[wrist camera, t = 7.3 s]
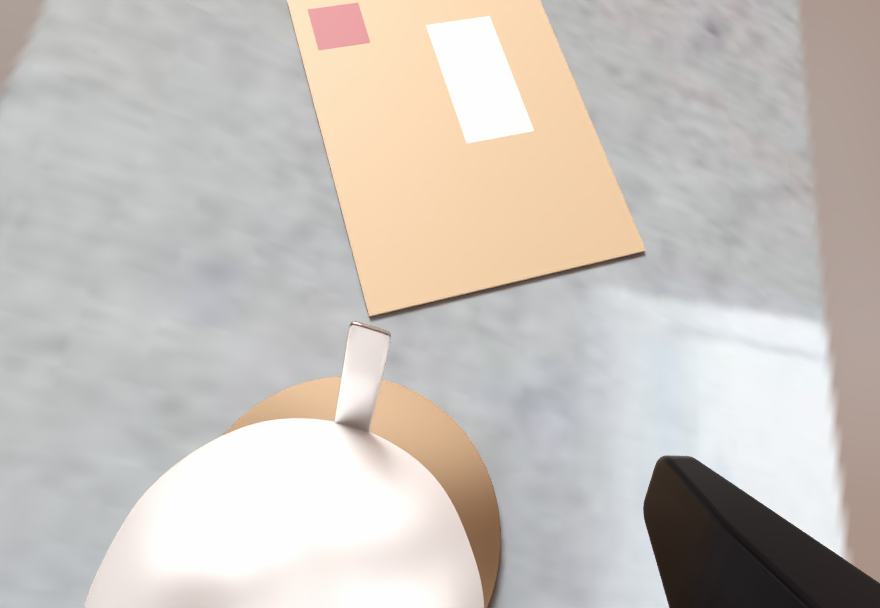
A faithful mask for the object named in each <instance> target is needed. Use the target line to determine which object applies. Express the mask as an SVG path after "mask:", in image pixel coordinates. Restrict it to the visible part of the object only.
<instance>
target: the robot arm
mask: <svg viewBox="0 0 880 608" xmlns="http://www.w3.org/2000/svg"><path fill="white" fill-rule="evenodd" d="M643 509H644V519H645V523H646V527H647V530H648V534H649V537H650V541H651V544H652V548H653V551H654V555H655V559H656V562H657V566H658V569H659V573H660V576H661V580H662V583H663V587H664V590H665V594H666V597H667V601H668V604H669V608H880V583H879V582H877V581H876V580H874V579H873V578H871V577H870V576H868V575H866V574H865V573H864V572H862V571H861V570H859V569H858V568H856V567H855V566H853V565H852V564H850V563H849V562H847V561H846V560H845V559H843V558H842V557H840V556H839V555H837V554H836V553H834V552H833V551H831V550H830V549H828V548H827V547H825V546H824V545H822V544H821V543H819V542H818V541H816V540H815V539H813V538H812V537H810V536H809V535H807V534H806V533H805V532H803V531H802V530H800V529H799V528H797V527H796V526H794V525H793V524H791V523H790V522H788V521H787V520H785V519H784V518H782V517H781V516H779V515H778V514H776V513H775V512H773V511H772V510H770V509H769V508H768V507H766V506H765V505H763V504H762V503H760V502H759V501H757V500H756V499H754V498H753V497H751V496H750V495H748V494H747V493H745V492H744V491H742V490H741V489H739V488H738V487H736V486H735V485H733V484H732V483H731V482H729V481H728V480H726V479H725V478H723V477H722V476H720V475H719V474H717V473H716V472H714V471H713V470H711V469H710V468H708V467H707V466H705V465H704V464H702V463H701V462H699V461H698V460H696V459H695V458H693V457H689V456H663V457H661V458H659V460H658V461H657V463H656V465H655V468H654V471H653V474H652V478H651V481H650V484H649V487H648V490H647V494H646V497H645V500H644V507H643Z"/></svg>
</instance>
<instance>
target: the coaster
mask: <svg viewBox="0 0 880 608" xmlns="http://www.w3.org/2000/svg"><path fill="white" fill-rule="evenodd" d="M340 381H341V376H340V377H328V378H322V379H317V380H312V381H308V382H305V383H302V384H299V385H295V386H292V387H290V388H288V389H285V390H283V391H281V392H279V393H277V394H275V395H272V396H271V397H269V398H268V399H266V400H264V401H263V402H261V403H260V404H258V405H256V406H255V407H253V408H252V409H251V410H250V411H248V412H247V413H246V414H245V415H243V416H242V417H241V418H240V419H238V420H237V421H236V422H235V423H234V424H233V425H232V426H231V427H230V428H229V429H228V431H227V432H226V433H225V434H227V433H230V432H232V431H235V430H237V429H240V428H242V427H246V426H249V425H252V424H255V423H260V422H264V421H269V420H276V419H289V418H307V419H320V420H328V421H335V414H336V407H337V401H338V394H339V387H340ZM370 432H371V433H373V434H375V435H377V436H379V437H381V438H383V439H385V440H387V441H389V442H391V443H393V444H394V445H396V446H398V447H399V448H401V449H402V450H404V451H405V452H407V453H408V454H410V455H411V456H412V457H414V458H415V459H416V460H417V461H419V462H420V463H421V464H422V465H423V466H424V467H425V468H426V469H427V470H428V471H429V472H430V473H431V474H432V475H433V476H434V477H435V478H436V480H437V481H438V482H439V483H440V485H441V486H442V487H443V489H444V490H445V492H446V493H447V495H448V497H449V498H450V500H451V502H452V504H453V505H454V507H455V509H456V511H457V513H458V516H459V518H460V520H461V522H462V525H463V527H464V530H465V532H466V535H467V538H468V540H469V543H470V546H471V549H472V552H473V555H474V558H475V561H476V564H477V568H478V571H479V575H480V579H481V584H482V590H483V598H484V608H487V607H488V604H489V601H490V599H491V596H492V593H493V589H494V585H495V581H496V577H497V573H498V565H499V558H500V537H501V529H500V519H499V510H498V505H497V500H496V496H495V492H494V488H493V485H492V482H491V479H490V477H489V474H488V471H487V468H486V466H485V464H484V463H483V461H482V459H481V457H480V455H479V453H478V451H477V449H476V448H475V446H474V445H473V443H472V442H471V440H470V439H469V437H468V436H467V435H466V433H465V432H464V431H463V430H462V429H461V428H460V426H459V425H458V424H457V423H456V422H455V421H454V420H453V419H452V418H451V417H450V416H449V415H448V414H447V413H445V412H444V411H443V410H442V409H441V408H440V407H439V406H437V405H436V404H434V403H433V402H431V401H430V400H428V399H427V398H425V397H424V396H422V395H420V394H418V393H416V392H414V391H412V390H410V389H408V388H406V387H403V386H400V385H397V384H394V383H391V382H388V381H384V380H382V382H381V386H380V390H379V394H378V398H377V402H376V407H375V411H374V415H373V419H372V423H371V428H370ZM225 434H224V435H225Z"/></svg>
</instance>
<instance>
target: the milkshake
mask: <svg viewBox="0 0 880 608" xmlns="http://www.w3.org/2000/svg"><path fill="white" fill-rule="evenodd" d="M390 343H391V333H390V332H389V331H387V330H384V329H381V328H378V327H374V326H371V325H368V324H364V323H361V322H357V321H352V322H351V323H350V325H349V329H348V335H347V341H346V348H345V354H344V361H343V367H342V374H341V381H340V387H339V394H338V401H337V407H336V414H335V421H328V420H320V419H307V418H289V419H276V420H269V421H264V422H260V423H255V424H252V425H249V426H246V427H242V428H240V429H237V430H235V431H232V432H230V433H227V434H225V435H223V436H221V437H219V438H217V439H215V440H213V441H211V442H209V443H208V444H206V445H204V446H202V447H201V448H199V449H197V450H196V451H194V452H193V453H191V454H190V455H188V456H187V457H185V458H184V459H183V460H181V461H180V462H178V463H177V464H176V465H175V466H173V467H172V468H171V469H170V470H168V471H167V472H166V473H165V474H164V475H163V476H161V477H160V478H159V479H158V480H157V481H156V482H155V483H154V484H153V485H152V486H151V487H150V488H149V489H148V490H147V491H146V492H145V493H144V495H143V496H142V497H141V498H140V499H139V501H138V502H137V503H136V505H135V506H134V507H133V509H132V510H131V512H130V513H129V515H128V516H127V518H126V520H125V521H124V523H123V524H122V526H121V528H120V530H119V531H118V533H117V535H116V537H115V538H114V540H113V542H112V544H111V546H110V548H109V549H108V551H107V553H106V555H105V557H104V559H103V561H102V563H101V565H100V568H99V570H98V572H97V574H96V576H95V578H94V581H93V583H92V585H91V588H90V591H89V593H88V596H87V599H86V602H85V606H84V608H484V598H483V590H482V584H481V579H480V575H479V571H478V568H477V564H476V561H475V558H474V555H473V552H472V549H471V546H470V543H469V540H468V538H467V535H466V532H465V530H464V527H463V525H462V522H461V520H460V518H459V516H458V513H457V511H456V509H455V507H454V505H453V504H452V502H451V500H450V498H449V497H448V495H447V493H446V492H445V490H444V489H443V487H442V486H441V485H440V483H439V482H438V481H437V480H436V478H435V477H434V476H433V475H432V474H431V473H430V472H429V471H428V470H427V469H426V468H425V467H424V466H423V465H422V464H421V463H420V462H419V461H417V460H416V459H415V458H414V457H412V456H411V455H410V454H408V453H407V452H405V451H404V450H402V449H401V448H399V447H398V446H396V445H394V444H393V443H391V442H389V441H387V440H385V439H383V438H381V437H379V436H377V435H375V434H373V433H371V432H370V428H371V423H372V419H373V415H374V411H375V407H376V402H377V398H378V394H379V390H380V386H381V382H382V377H383V373H384V369H385V365H386V361H387V357H388V352H389V348H390Z"/></svg>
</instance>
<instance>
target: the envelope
mask: <svg viewBox="0 0 880 608" xmlns="http://www.w3.org/2000/svg"><path fill="white" fill-rule="evenodd" d="M287 3H288V7H289V10H290V14H291V18H292V22H293V26H294V30H295V33H296V37H297V41H298V45H299V49H300V53H301V57H302V60H303V64H304V68H305V72H306V76H307V80H308V83H309V87H310V91H311V95H312V99H313V103H314V106H315V110H316V114H317V118H318V122H319V126H320V130H321V133H322V137H323V141H324V145H325V149H326V153H327V156H328V160H329V164H330V168H331V172H332V176H333V180H334V183H335V187H336V191H337V195H338V199H339V203H340V206H341V210H342V214H343V218H344V222H345V226H346V230H347V233H348V237H349V241H350V245H351V249H352V253H353V256H354V260H355V264H356V268H357V272H358V276H359V280H360V283H361V287H362V291H363V295H364V299H365V303H366V306H367V310H368V314H369V317H371V316H375V315H380V314H384V313H388V312H392V311H396V310H401V309H405V308H409V307H413V306H417V305H422V304H426V303H430V302H434V301H439V300H443V299H447V298H451V297H455V296H460V295H464V294H468V293H472V292H476V291H481V290H485V289H489V288H493V287H498V286H502V285H506V284H510V283H514V282H519V281H523V280H527V279H531V278H535V277H540V276H544V275H548V274H552V273H556V272H561V271H565V270H569V269H573V268H578V267H582V266H586V265H590V264H594V263H599V262H603V261H607V260H611V259H615V258H620V257H624V256H628V255H632V254H636V253H641V252H645V251H646V249H645V247H644V244H643V242H642V240H641V237H640V235H639V233H638V230H637V228H636V226H635V223H634V221H633V219H632V216H631V214H630V211H629V209H628V207H627V204H626V202H625V200H624V197H623V195H622V193H621V190H620V188H619V186H618V183H617V181H616V178H615V176H614V174H613V171H612V169H611V167H610V164H609V162H608V160H607V157H606V155H605V153H604V150H603V148H602V145H601V143H600V141H599V138H598V136H597V134H596V131H595V129H594V127H593V124H592V122H591V119H590V117H589V115H588V112H587V110H586V108H585V105H584V103H583V101H582V98H581V96H580V94H579V91H578V89H577V86H576V84H575V82H574V79H573V77H572V75H571V72H570V70H569V68H568V65H567V63H566V61H565V58H564V56H563V53H562V51H561V49H560V46H559V44H558V42H557V39H556V37H555V35H554V32H553V30H552V28H551V25H550V23H549V20H548V18H547V16H546V13H545V11H544V9H543V6H542V4H541V2H540V0H287Z"/></svg>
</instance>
